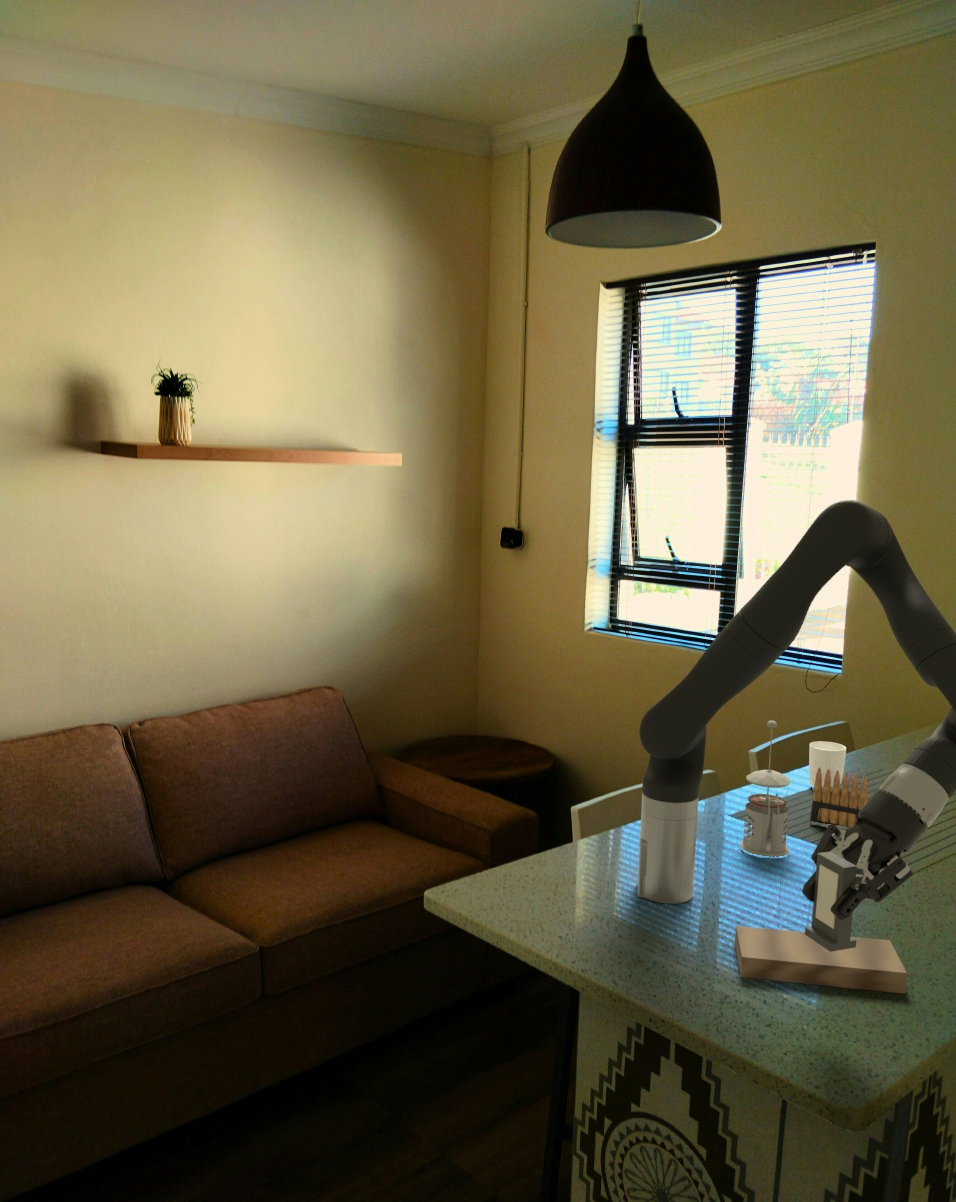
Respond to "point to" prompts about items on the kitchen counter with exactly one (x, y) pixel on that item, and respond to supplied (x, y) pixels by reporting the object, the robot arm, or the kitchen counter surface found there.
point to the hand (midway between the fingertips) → (821, 906)
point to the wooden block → (818, 961)
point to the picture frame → (831, 903)
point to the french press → (766, 813)
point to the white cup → (826, 760)
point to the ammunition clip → (837, 800)
